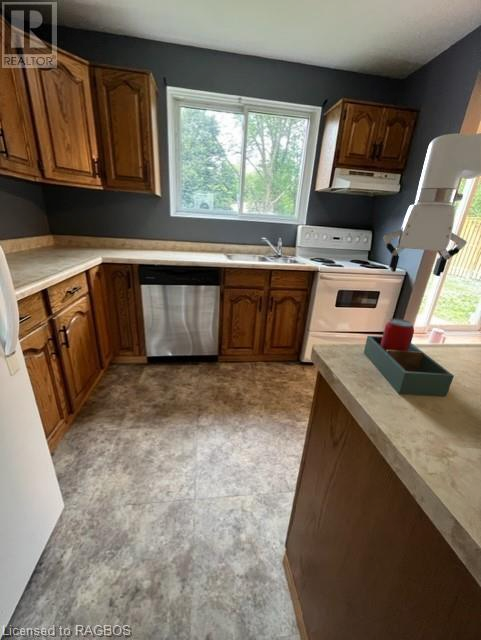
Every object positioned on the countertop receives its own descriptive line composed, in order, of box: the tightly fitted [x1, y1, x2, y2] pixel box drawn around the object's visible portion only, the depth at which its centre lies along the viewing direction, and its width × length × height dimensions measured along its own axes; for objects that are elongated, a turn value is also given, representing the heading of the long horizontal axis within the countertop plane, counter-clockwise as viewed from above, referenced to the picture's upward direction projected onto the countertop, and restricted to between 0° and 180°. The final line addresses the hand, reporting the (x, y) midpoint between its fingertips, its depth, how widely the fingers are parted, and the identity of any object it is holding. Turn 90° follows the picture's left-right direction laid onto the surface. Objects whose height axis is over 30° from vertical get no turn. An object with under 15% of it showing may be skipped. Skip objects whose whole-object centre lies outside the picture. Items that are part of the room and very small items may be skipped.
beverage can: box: [380, 318, 415, 351], centre depth 73 cm, size 7×7×12 cm
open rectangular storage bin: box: [363, 335, 455, 398], centre depth 69 cm, size 11×20×6 cm, turn 178°
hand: (414, 273), depth 68 cm, fingers open, 9 cm apart
